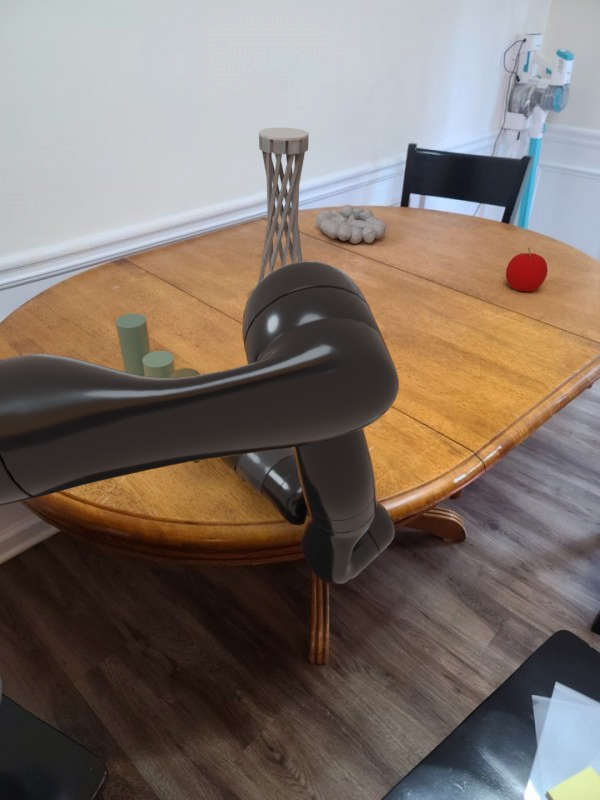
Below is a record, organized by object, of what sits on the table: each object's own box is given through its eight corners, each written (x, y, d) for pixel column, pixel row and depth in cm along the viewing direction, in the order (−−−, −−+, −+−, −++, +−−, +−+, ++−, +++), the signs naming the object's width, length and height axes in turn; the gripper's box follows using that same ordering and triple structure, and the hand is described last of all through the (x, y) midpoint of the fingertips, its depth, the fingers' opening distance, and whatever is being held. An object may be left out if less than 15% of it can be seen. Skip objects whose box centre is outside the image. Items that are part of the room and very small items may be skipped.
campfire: (401, 234, 166) (404, 214, 163) (358, 253, 153) (360, 232, 150) (343, 216, 178) (344, 197, 174) (298, 232, 165) (299, 212, 161)
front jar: (158, 416, 93) (151, 370, 88) (144, 401, 96) (136, 356, 91) (184, 405, 96) (179, 360, 90) (170, 391, 99) (164, 347, 93)
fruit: (531, 280, 142) (542, 241, 136) (548, 295, 135) (560, 255, 129) (496, 280, 141) (506, 242, 135) (511, 296, 134) (522, 256, 128)
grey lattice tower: (315, 309, 126) (324, 140, 105) (255, 312, 124) (252, 140, 103) (305, 283, 136) (311, 125, 116) (250, 285, 135) (246, 125, 114)
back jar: (134, 390, 99) (123, 330, 92) (121, 378, 102) (110, 318, 95) (159, 381, 101) (151, 321, 94) (147, 369, 104) (138, 310, 97)
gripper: (306, 416, 75) (237, 363, 85) (214, 460, 67) (151, 397, 77) (304, 458, 79) (239, 404, 89) (217, 504, 72) (157, 438, 82)
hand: (198, 400), depth 83 cm, fingers open, 8 cm apart
